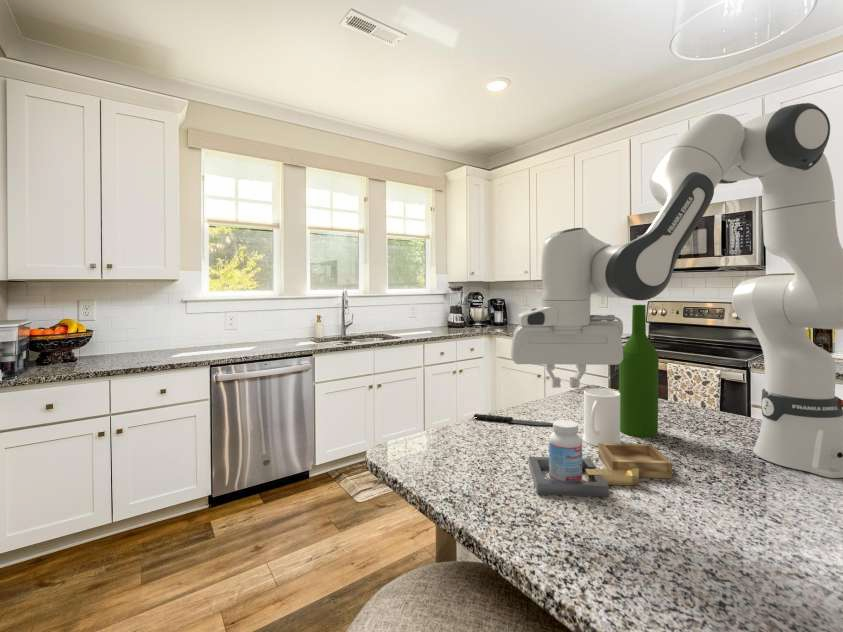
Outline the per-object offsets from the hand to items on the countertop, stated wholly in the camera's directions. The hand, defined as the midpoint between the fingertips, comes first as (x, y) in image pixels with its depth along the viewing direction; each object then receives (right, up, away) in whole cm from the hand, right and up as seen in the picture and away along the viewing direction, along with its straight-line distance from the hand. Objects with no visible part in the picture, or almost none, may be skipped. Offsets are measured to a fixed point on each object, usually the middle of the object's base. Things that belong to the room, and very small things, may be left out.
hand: (565, 387), depth 81 cm
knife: (-1, -17, +37) cm, 41 cm away
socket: (0, -18, +1) cm, 18 cm away
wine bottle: (+28, -16, +28) cm, 43 cm away
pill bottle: (0, -19, +1) cm, 19 cm away
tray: (+16, -18, +7) cm, 25 cm away
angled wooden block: (+9, -18, 0) cm, 20 cm away
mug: (+15, -17, +20) cm, 30 cm away
